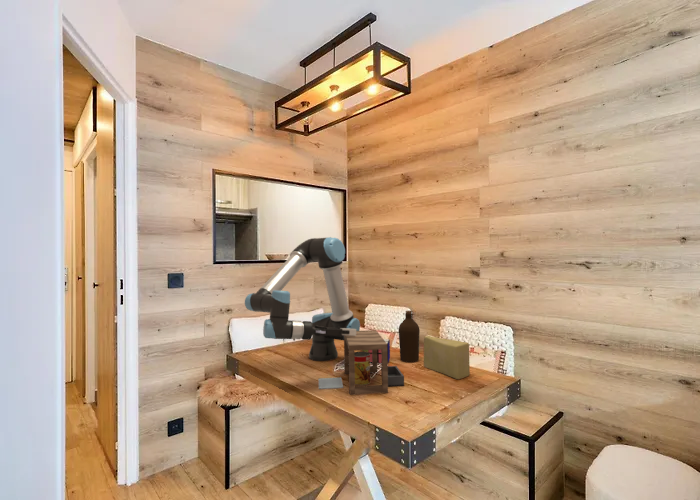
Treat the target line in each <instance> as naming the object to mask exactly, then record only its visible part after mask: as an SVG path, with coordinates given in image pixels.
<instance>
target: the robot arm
mask: <svg viewBox="0 0 700 500" xmlns="http://www.w3.org/2000/svg"><path fill="white" fill-rule="evenodd" d="M345 254H346V248H345V245H344V243H343V241H342V240H340V239H339V238H337V237H331V236H330V237H313V238H310V239H307V240H304V241H303V242H301V243H300V244H299V245H297V246H296V247H295V248H294V249H293V250H292V251H291V252H290V253H289V257H288V258H287V260H285V261H284V263H282V265H281V266H280V267H279V268H278V269H277V270H276V271H275V272H274V273H273V274H272V275H271V277H270V278H269V279H268V280H267V281H265V283H264V284H262V286H261V287H260V288H259V289H258V291H256V293H255V292H253V293H249V294H248V295H246V296H245V299H244V306H245V308H246V309H247V310H248V311H251V312H254V313H255V312H256V313H257V312H258V313H269V318H268V319H265V320H264V322H263V329H262V330H263V337H264V338H265V339H274V340H292V341H293V342H295V341H296V340H303V341H304V340H305V341H306V340H307V341H308V340H312V341H311V342H312V343H311V346H310V350H309V354H308V358H309V359H310V360H311V361H316V362H326V361H327V362H328V361H333V360H336V359H338V357H339V356H338V354H339V353H338V349H337V347H336V343H335V340H337V341H344V335H351V336H356V331H361V323H360V322H361V321H360V320H359V319H358V318H357V317H354V313H353V311H352V310H350V307H349V302H348V298H347V293H346V288H345V283H344V279H343V274H342V269H341V266H342V265H343V261H344V259H345V257H346V255H345ZM309 263H317V265H318V268H319V269H320V270H322V271H323V276H324V281H325V285H326V290H327V295H328V299H329V303H330V308H331V312H325V313H319V314H318V313H317V314H314V315H312V318H311V321H310V320H304V321H303V320H295V319H294V320H289V316H290V305H291V293H290V291H288V290H283V289H284V288H285V287H286V286H287V285H288V284H289V282H290V281H291V280H292V279H293V278H294V277H295V275H296V274H297V273H298V272H299V271H300V270H301V269H302V268H305V267H306V266H307V265H308V264H309Z"/></svg>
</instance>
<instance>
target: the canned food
mask: <svg viewBox="0 0 700 500" xmlns="http://www.w3.org/2000/svg"><path fill="white" fill-rule="evenodd" d="M354 355H355V386H368V385H369V384H370V383H371V373H370V366H371V363H370V353H368V352H365V351H354Z"/></svg>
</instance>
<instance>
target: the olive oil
mask: <svg viewBox="0 0 700 500" xmlns="http://www.w3.org/2000/svg"><path fill="white" fill-rule="evenodd" d="M404 316H405V317H404V320H402V322H401V323H400V324H399V326H398V340H399V341H398V342H399V345H398V346H399V359H400V361H401V362H403V363H417V362H419V360H420V356H419V355H420V327H419V324H418V323H417V322H416V321H415V320H414V318H413V311H412V310H405V315H404Z"/></svg>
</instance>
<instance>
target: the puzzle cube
mask: <svg viewBox="0 0 700 500" xmlns="http://www.w3.org/2000/svg"><path fill="white" fill-rule="evenodd" d="M383 339H384V341H385V342H386V343H387V357H388V363H390V359H391V350H390V349H391V348H390V347H391V341H390V339H389V338H387V339H386V338H383ZM368 353H370V362H372V350H368ZM377 364H382V352H381V350H377Z"/></svg>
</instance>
